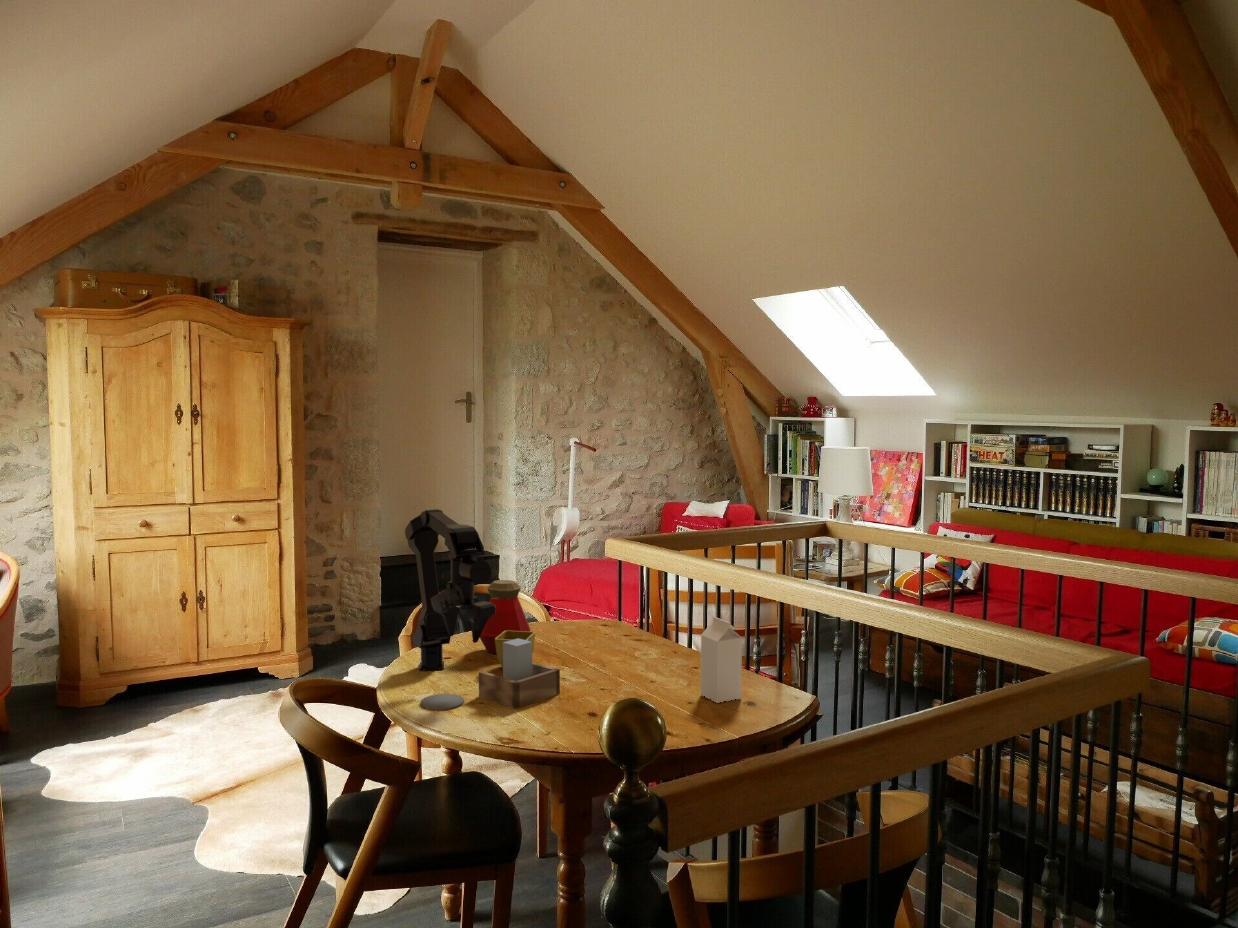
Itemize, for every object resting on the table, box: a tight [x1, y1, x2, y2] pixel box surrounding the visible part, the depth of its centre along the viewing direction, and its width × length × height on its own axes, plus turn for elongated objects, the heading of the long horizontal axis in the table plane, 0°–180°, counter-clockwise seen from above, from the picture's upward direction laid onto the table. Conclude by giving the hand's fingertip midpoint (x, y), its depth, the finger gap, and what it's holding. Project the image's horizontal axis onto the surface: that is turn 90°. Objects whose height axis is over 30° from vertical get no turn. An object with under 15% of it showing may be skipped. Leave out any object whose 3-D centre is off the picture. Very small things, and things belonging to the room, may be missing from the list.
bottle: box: [479, 579, 531, 656], centre depth 257 cm, size 16×14×20 cm
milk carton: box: [700, 616, 743, 704], centre depth 217 cm, size 7×7×19 cm
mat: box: [420, 693, 465, 711], centre depth 213 cm, size 10×10×1 cm
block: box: [502, 638, 533, 681], centre depth 219 cm, size 5×5×13 cm
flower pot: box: [495, 631, 536, 669], centre depth 241 cm, size 9×9×9 cm
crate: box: [478, 661, 561, 710], centre depth 219 cm, size 13×14×6 cm
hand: (463, 639), depth 225 cm, fingers open, 9 cm apart
